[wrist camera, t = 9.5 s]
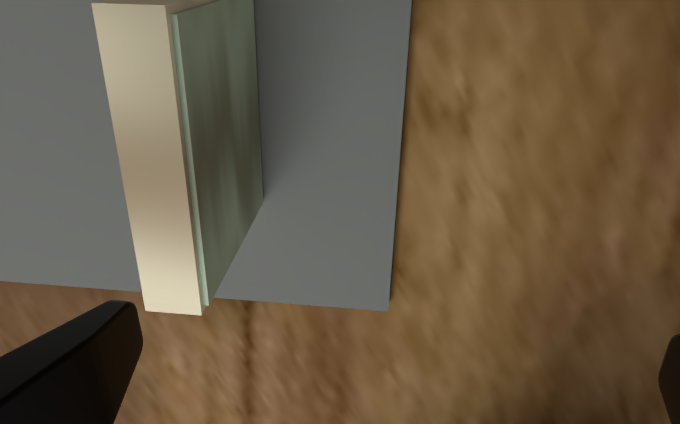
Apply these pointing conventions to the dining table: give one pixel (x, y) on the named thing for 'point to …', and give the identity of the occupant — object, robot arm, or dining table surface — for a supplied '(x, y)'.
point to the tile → (184, 138)
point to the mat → (275, 139)
